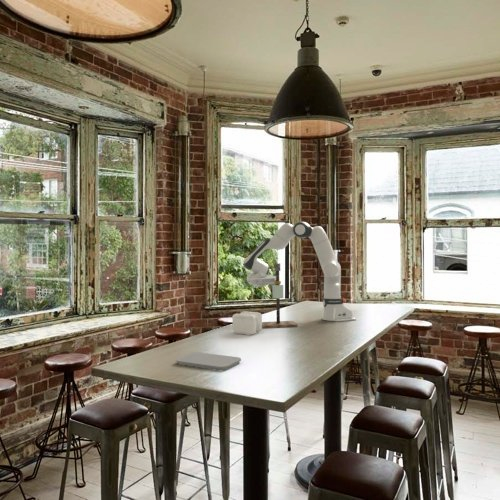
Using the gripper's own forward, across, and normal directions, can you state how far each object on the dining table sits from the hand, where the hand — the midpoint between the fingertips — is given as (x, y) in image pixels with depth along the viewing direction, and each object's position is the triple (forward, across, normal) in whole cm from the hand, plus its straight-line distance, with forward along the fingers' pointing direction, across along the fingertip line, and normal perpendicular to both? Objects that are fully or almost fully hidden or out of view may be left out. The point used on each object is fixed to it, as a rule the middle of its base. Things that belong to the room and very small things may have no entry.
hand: (269, 281), depth 293 cm
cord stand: (+12, -1, +27) cm, 29 cm away
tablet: (+75, -68, +27) cm, 104 cm away
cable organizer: (+23, -27, +27) cm, 44 cm away
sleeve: (+12, 0, +9) cm, 15 cm away
